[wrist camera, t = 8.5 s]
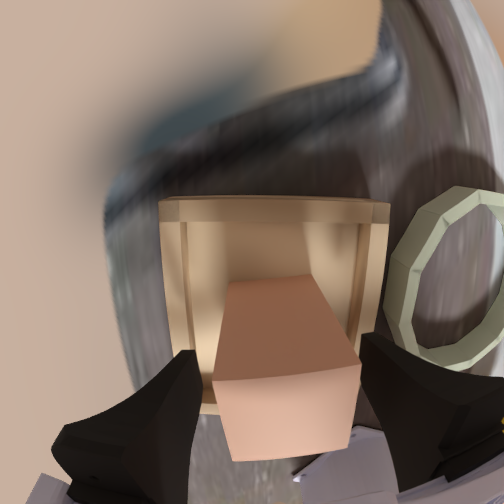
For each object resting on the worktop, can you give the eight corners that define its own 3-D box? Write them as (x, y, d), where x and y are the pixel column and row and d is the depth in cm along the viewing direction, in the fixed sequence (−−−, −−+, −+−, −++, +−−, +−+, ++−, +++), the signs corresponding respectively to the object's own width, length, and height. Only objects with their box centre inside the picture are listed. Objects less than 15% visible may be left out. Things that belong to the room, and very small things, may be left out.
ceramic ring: (450, 372, 19) (464, 389, 17) (347, 318, 17) (360, 339, 15) (526, 248, 16) (545, 256, 14) (448, 148, 14) (472, 147, 12)
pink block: (312, 343, 17) (347, 447, 9) (238, 350, 17) (232, 461, 9) (311, 274, 15) (361, 363, 8) (229, 282, 16) (211, 381, 8)
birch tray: (344, 385, 19) (353, 407, 16) (190, 388, 19) (183, 412, 16) (371, 198, 15) (390, 203, 13) (172, 196, 15) (158, 201, 13)
